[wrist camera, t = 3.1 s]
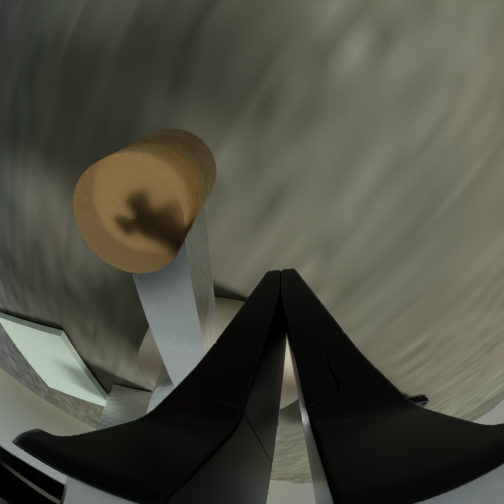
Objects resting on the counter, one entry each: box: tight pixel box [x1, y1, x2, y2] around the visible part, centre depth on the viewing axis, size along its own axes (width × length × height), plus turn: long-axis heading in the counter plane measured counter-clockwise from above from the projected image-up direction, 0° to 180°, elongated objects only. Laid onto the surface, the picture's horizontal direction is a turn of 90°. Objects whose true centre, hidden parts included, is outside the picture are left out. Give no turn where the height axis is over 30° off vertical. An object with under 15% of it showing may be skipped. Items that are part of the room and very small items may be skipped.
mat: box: [0, 312, 109, 406], centre depth 21 cm, size 12×10×1 cm
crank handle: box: [73, 129, 280, 443], centre depth 10 cm, size 17×7×5 cm, turn 1°
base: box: [138, 297, 298, 409], centre depth 16 cm, size 10×10×2 cm
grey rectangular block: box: [96, 384, 153, 430], centre depth 20 cm, size 4×4×6 cm
